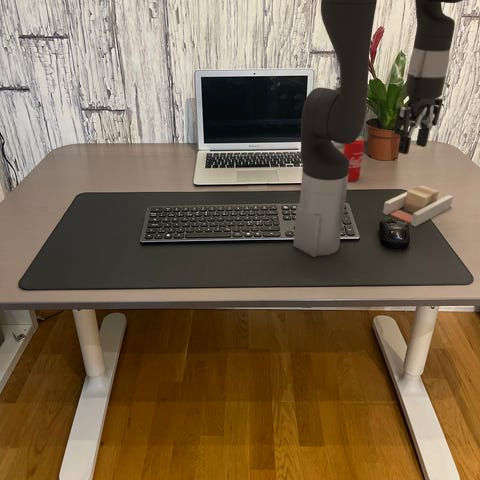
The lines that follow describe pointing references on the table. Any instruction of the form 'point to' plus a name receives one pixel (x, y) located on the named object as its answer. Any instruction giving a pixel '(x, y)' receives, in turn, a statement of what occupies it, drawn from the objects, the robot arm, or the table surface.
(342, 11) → the robot arm
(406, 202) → the maple block
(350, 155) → the beverage can
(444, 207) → the channel
